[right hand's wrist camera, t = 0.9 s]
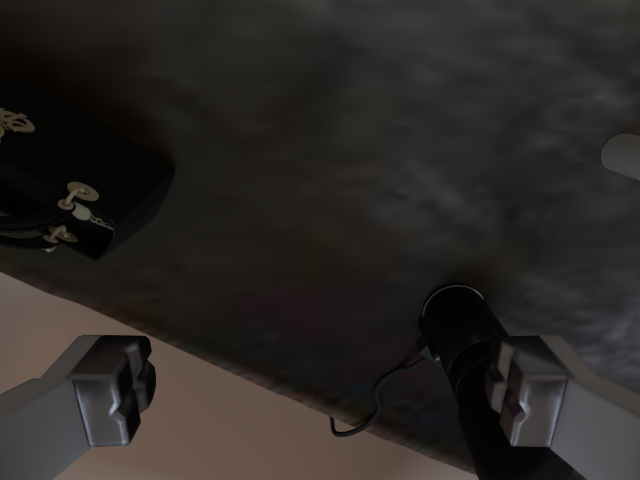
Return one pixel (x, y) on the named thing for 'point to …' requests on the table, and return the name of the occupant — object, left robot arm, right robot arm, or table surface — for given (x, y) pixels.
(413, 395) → the table surface
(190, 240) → the table surface
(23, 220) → the handbag
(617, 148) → the bottle
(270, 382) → the table surface
